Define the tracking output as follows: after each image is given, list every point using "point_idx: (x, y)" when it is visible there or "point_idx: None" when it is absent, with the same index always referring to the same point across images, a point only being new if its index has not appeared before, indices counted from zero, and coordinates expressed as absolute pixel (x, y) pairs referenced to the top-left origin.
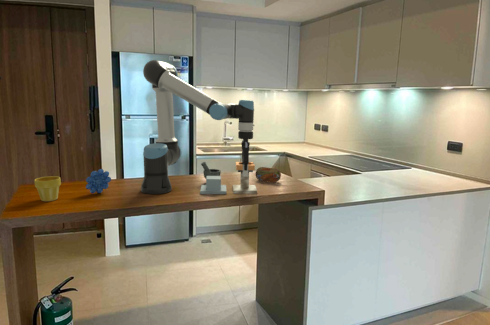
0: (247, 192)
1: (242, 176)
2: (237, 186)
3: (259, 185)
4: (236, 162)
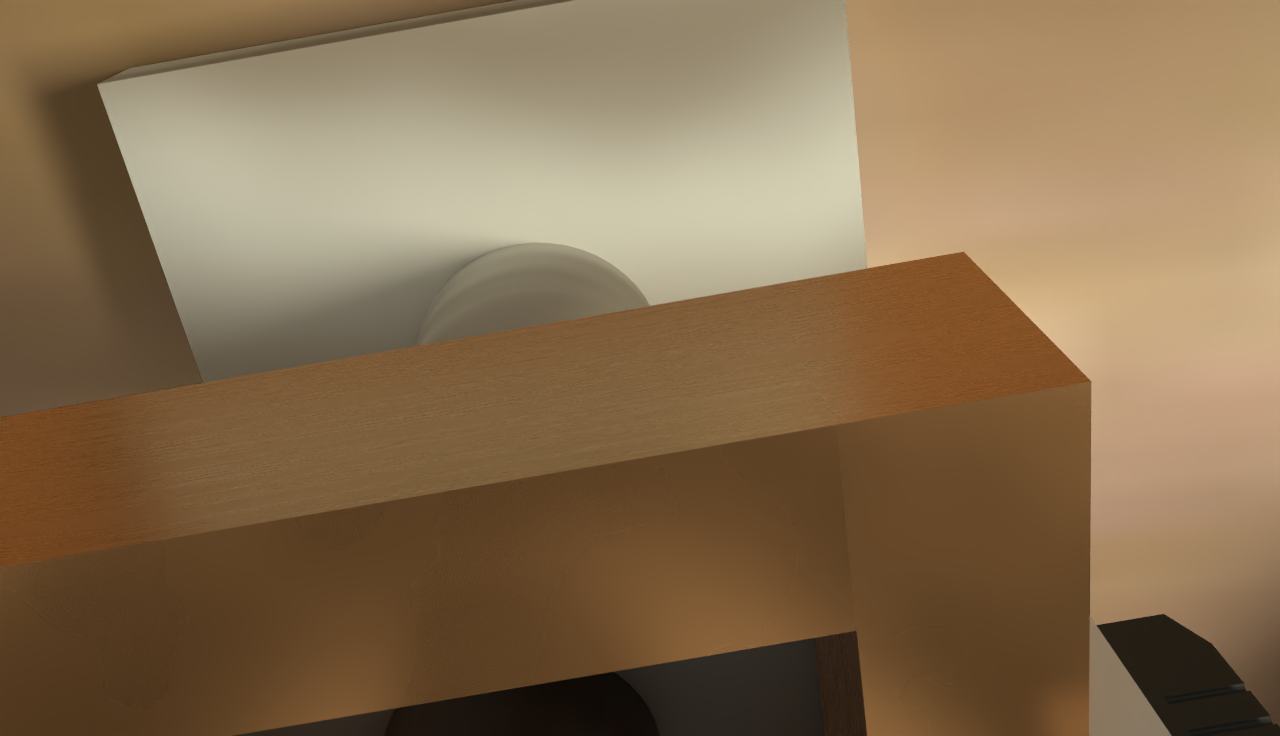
0: None
1: None
2: (640, 141)
3: (1109, 607)
4: (819, 475)
